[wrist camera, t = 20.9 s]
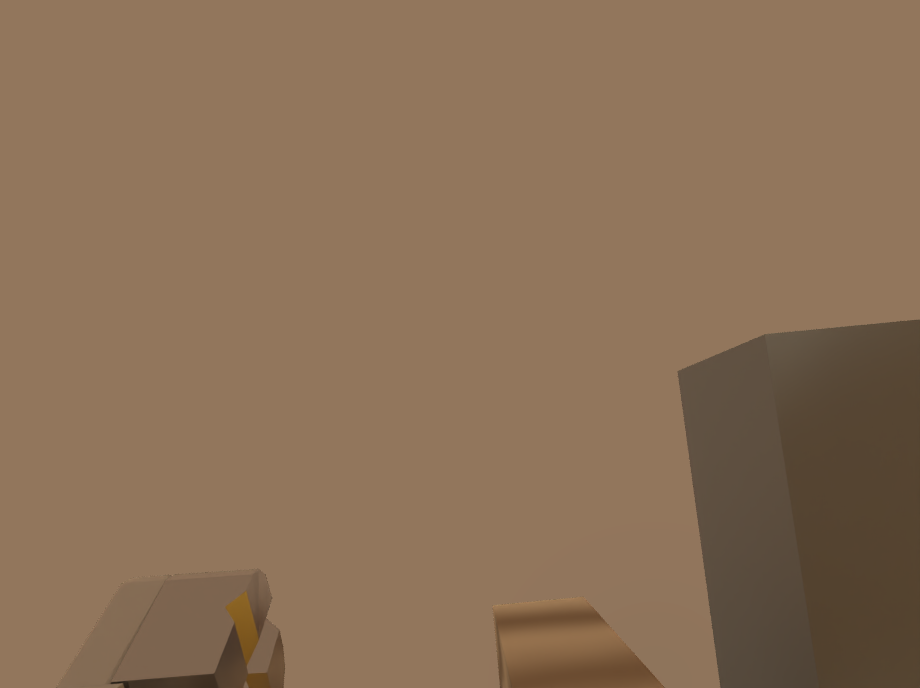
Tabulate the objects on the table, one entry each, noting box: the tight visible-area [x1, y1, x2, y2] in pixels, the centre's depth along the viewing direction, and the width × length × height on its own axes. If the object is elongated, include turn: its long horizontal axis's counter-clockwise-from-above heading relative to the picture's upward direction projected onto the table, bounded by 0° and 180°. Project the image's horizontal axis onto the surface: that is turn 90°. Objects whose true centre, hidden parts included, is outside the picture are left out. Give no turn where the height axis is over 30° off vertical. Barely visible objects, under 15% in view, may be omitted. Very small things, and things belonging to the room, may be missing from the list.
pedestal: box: [678, 320, 920, 688], centre depth 30 cm, size 12×12×26 cm
